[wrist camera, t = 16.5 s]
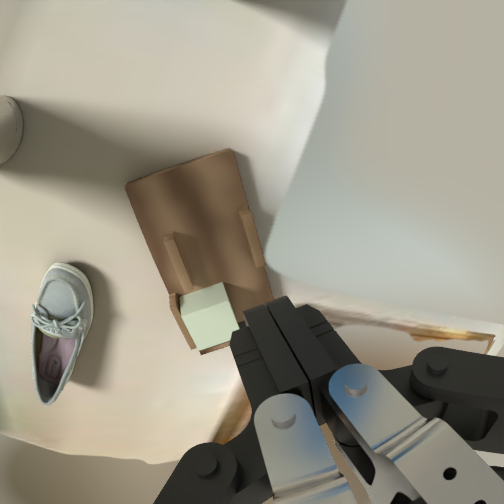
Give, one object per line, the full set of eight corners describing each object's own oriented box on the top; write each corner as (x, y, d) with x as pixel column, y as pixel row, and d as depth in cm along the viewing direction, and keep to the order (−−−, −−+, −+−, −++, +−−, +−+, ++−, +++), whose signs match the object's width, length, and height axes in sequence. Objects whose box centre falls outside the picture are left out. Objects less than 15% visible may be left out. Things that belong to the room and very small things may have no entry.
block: (195, 330, 44) (198, 350, 40) (179, 296, 41) (181, 316, 37) (235, 316, 44) (242, 336, 40) (222, 281, 42) (228, 300, 38)
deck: (200, 350, 49) (204, 374, 44) (127, 183, 36) (120, 193, 31) (277, 324, 50) (288, 345, 45) (229, 148, 37) (238, 153, 32)
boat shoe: (96, 261, 39) (84, 290, 32) (95, 382, 47) (90, 416, 40) (29, 248, 36) (7, 274, 29) (41, 371, 44) (31, 403, 37)
